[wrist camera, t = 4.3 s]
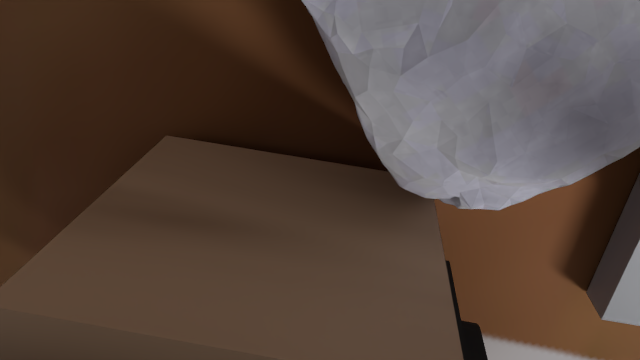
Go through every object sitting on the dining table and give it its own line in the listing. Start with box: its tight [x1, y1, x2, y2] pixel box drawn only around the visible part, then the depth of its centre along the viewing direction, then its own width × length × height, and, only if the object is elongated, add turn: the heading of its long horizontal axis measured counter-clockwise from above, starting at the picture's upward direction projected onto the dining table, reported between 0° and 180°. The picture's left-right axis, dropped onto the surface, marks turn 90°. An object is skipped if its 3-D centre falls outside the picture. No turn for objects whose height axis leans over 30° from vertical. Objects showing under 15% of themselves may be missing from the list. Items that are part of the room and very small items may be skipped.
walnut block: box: [0, 135, 464, 360], centre depth 10 cm, size 6×6×6 cm
